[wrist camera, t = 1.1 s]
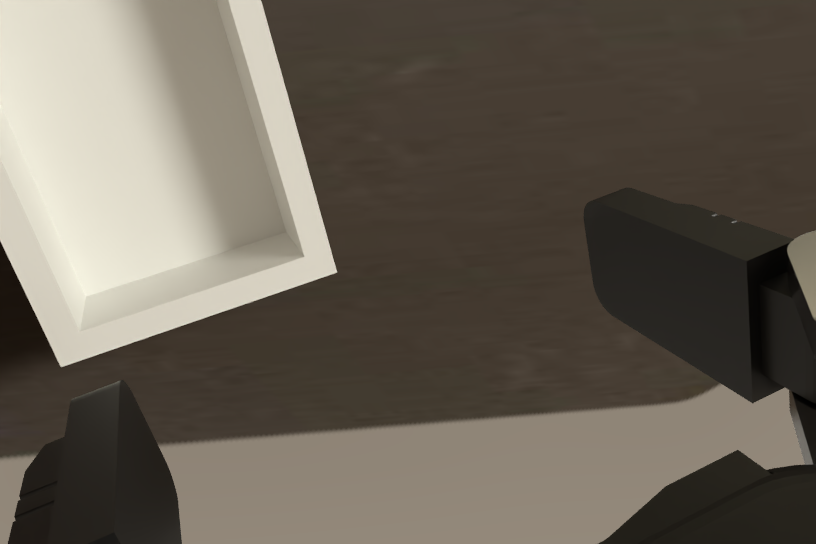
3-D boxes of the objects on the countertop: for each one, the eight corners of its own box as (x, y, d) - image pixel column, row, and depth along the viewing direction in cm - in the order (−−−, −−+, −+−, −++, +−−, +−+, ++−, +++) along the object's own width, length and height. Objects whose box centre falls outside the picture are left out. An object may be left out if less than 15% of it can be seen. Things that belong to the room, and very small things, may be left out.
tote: (-124, -100, 26) (-176, -126, 22) (196, -157, 29) (208, -190, 25) (70, 321, 33) (60, 367, 29) (312, 242, 36) (337, 272, 32)
